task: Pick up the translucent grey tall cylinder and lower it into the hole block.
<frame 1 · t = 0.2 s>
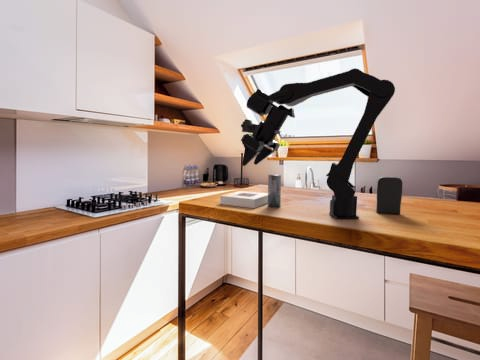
hand: (249, 164, 92), 15 cm above the worktop, tool tilted 30°, fingers open, 9 cm apart
translucent grey tall cylinder: (274, 206, 95), on the worktop
hole block: (246, 202, 102), on the worktop
battery: (387, 213, 86), on the worktop
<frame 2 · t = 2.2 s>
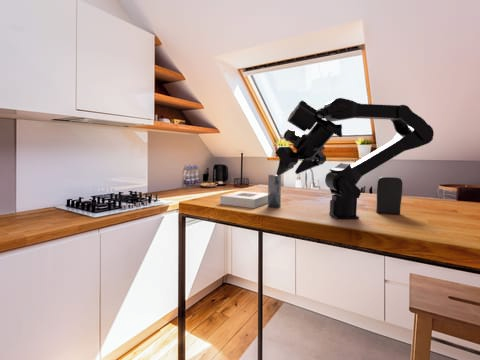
hand: (287, 173, 89), 12 cm above the worktop, tool tilted 45°, fingers open, 9 cm apart
nothing on the worktop moved.
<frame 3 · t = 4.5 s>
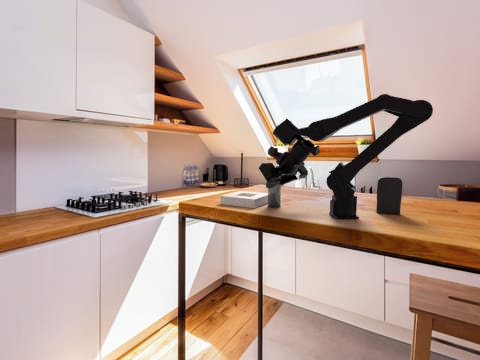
hand: (271, 186, 95), 7 cm above the worktop, tool tilted 45°, fingers closed on translucent grey tall cylinder, 4 cm apart
translucent grey tall cylinder: (274, 206, 95), on the worktop, touching gripper
everything else where it was.
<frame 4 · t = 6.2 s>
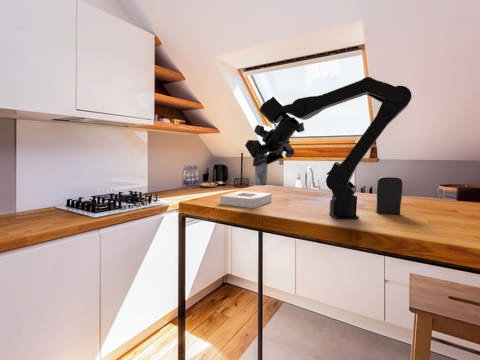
hand: (258, 165, 98), 14 cm above the worktop, tool tilted 45°, fingers closed on translucent grey tall cylinder, 4 cm apart
translucent grey tall cylinder: (260, 184, 97), point 7 cm above the worktop, touching gripper
everything else where it was.
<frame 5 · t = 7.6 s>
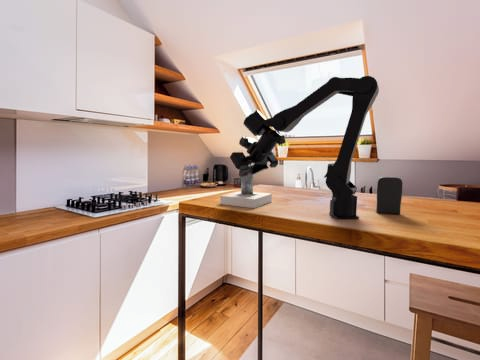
hand: (244, 175, 102), 10 cm above the worktop, tool tilted 45°, fingers closed on translucent grey tall cylinder, 4 cm apart
translucent grey tall cylinder: (247, 193, 101), point 3 cm above the worktop, touching gripper
everything else where it was.
when the fingers open (8 cm above the worktop, at t = 8.4 s): translucent grey tall cylinder drops 1 cm, resting in hole block.
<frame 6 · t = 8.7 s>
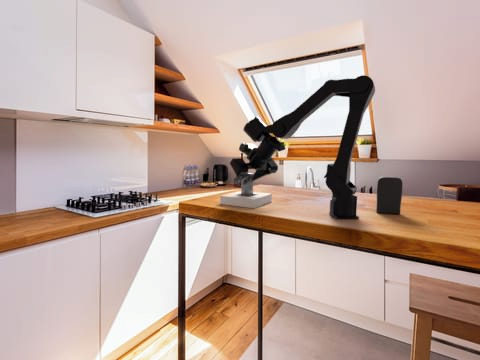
hand: (244, 180, 102), 8 cm above the worktop, tool tilted 45°, fingers open, 7 cm apart
translucent grey tall cylinder: (247, 202, 102), resting in hole block
everything else where it was.
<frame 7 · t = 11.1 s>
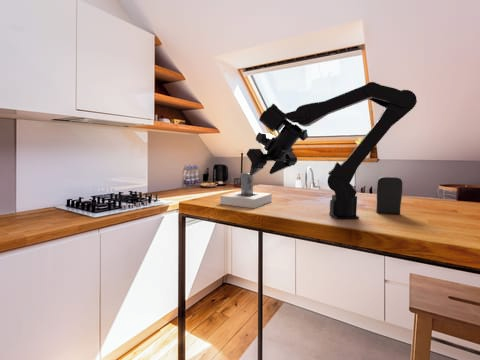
hand: (260, 174, 95), 11 cm above the worktop, tool tilted 45°, fingers open, 9 cm apart
nothing on the worktop moved.
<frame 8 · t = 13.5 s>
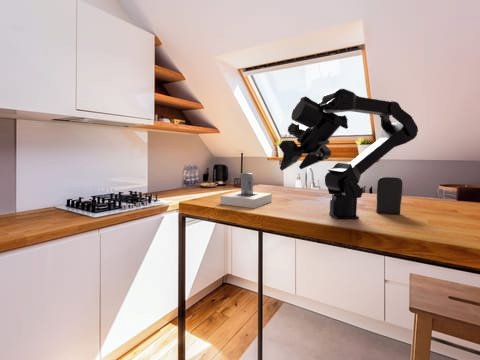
hand: (290, 168, 87), 14 cm above the worktop, tool tilted 45°, fingers open, 9 cm apart
nothing on the worktop moved.
at the end: translucent grey tall cylinder 0.1 cm off-centre on the hole block, point 0.0 cm above the hole block's base; translucent grey tall cylinder tilted 0°; the gripper is holding nothing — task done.
